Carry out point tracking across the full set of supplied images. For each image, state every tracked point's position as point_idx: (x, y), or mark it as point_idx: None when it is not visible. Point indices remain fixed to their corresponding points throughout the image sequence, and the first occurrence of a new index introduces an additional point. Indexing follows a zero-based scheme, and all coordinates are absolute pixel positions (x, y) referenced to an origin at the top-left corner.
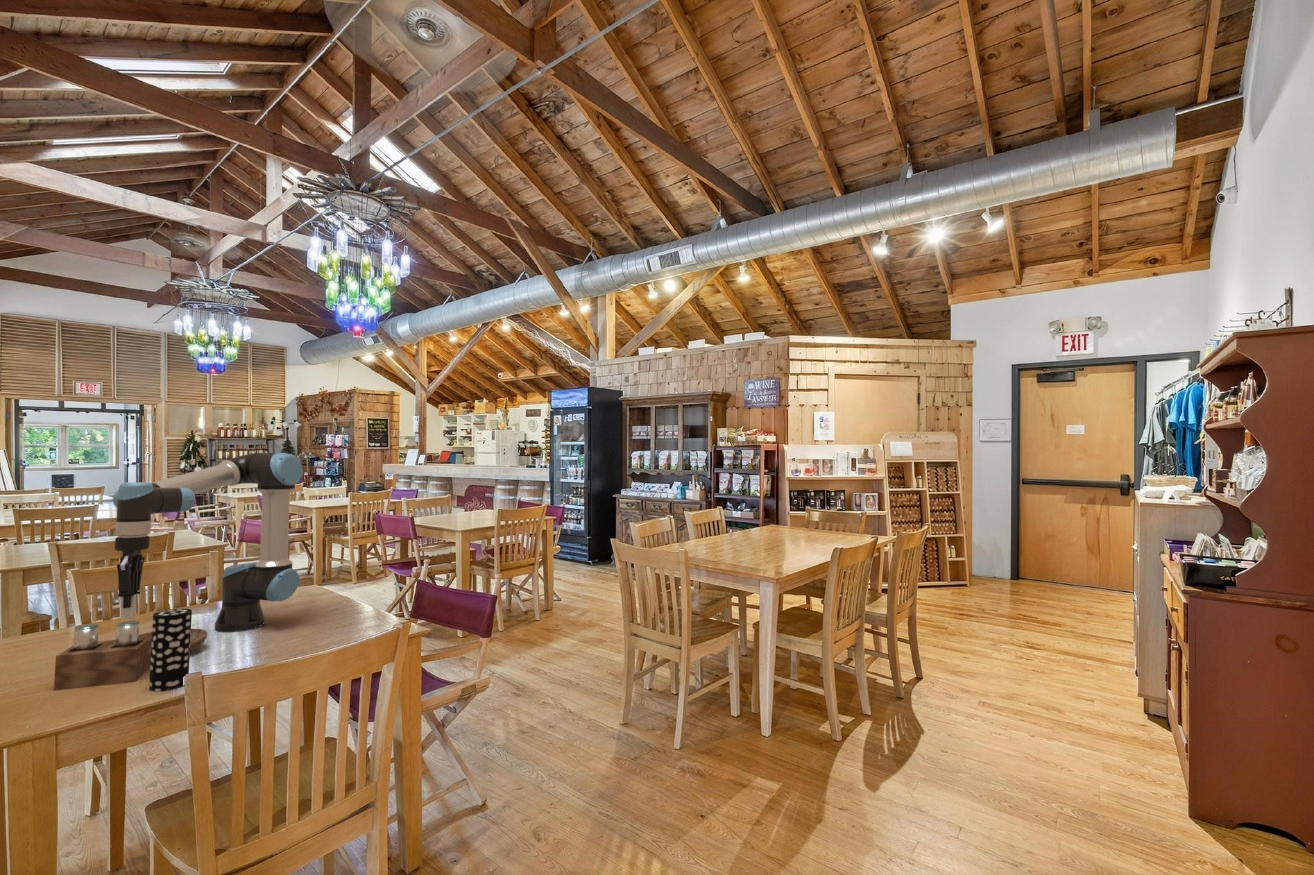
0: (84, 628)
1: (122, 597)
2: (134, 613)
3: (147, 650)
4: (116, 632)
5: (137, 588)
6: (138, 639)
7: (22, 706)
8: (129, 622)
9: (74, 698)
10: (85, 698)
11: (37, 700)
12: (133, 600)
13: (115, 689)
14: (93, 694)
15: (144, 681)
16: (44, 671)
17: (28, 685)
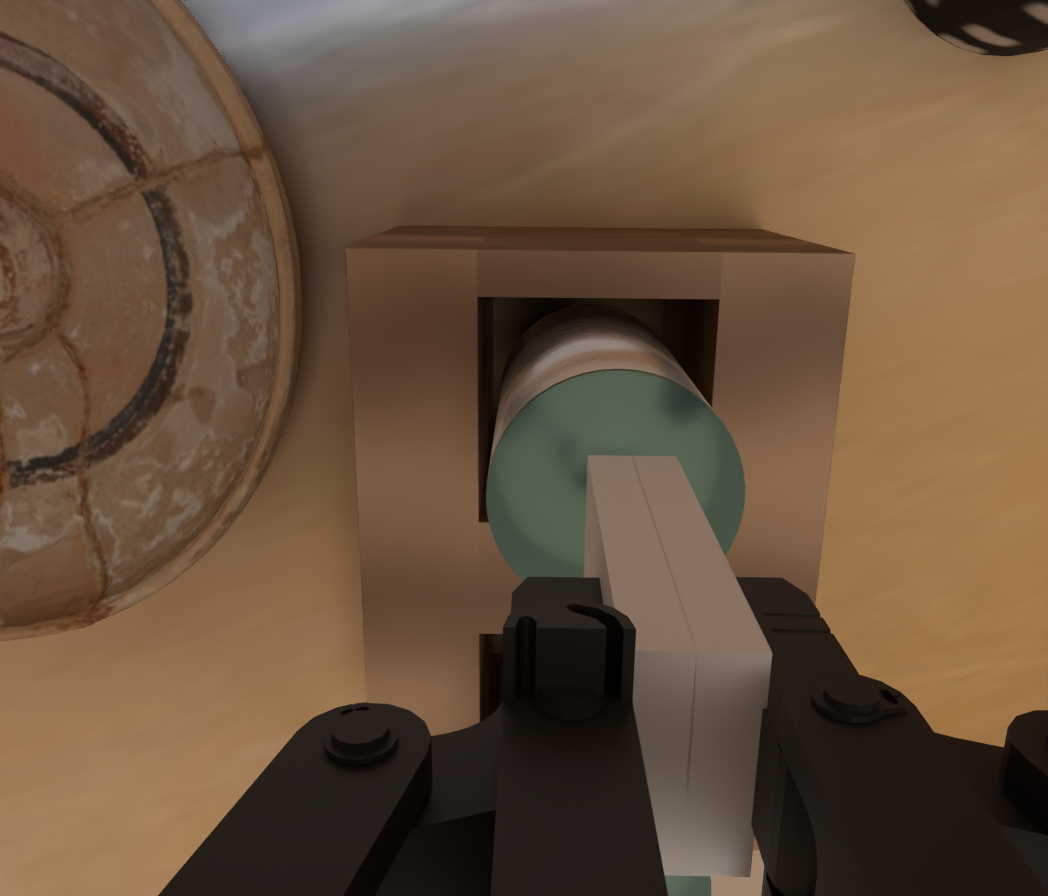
0: (709, 881)
1: (740, 851)
2: (617, 479)
3: (491, 240)
4: None
5: (420, 767)
6: (419, 361)
7: (989, 727)
8: (580, 492)
9: (984, 504)
10: (1024, 437)
11: (906, 694)
12: (737, 601)
13: (908, 307)
14: (955, 417)
15: (796, 154)
16: None
17: None
